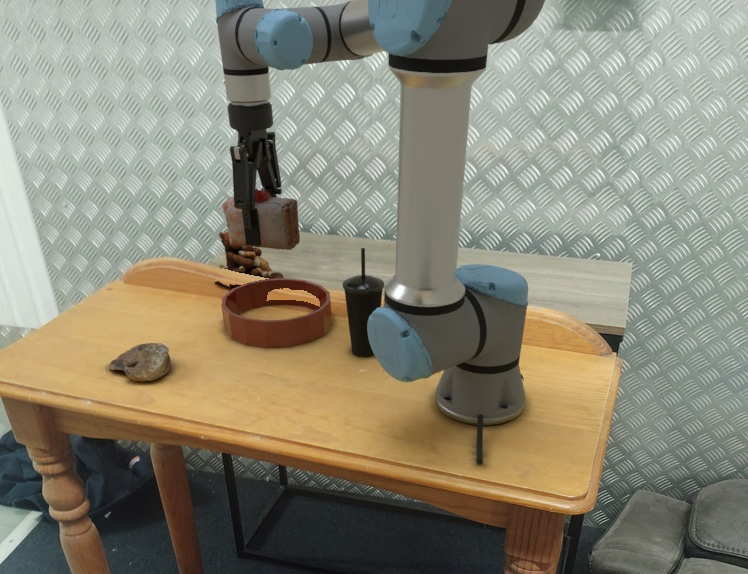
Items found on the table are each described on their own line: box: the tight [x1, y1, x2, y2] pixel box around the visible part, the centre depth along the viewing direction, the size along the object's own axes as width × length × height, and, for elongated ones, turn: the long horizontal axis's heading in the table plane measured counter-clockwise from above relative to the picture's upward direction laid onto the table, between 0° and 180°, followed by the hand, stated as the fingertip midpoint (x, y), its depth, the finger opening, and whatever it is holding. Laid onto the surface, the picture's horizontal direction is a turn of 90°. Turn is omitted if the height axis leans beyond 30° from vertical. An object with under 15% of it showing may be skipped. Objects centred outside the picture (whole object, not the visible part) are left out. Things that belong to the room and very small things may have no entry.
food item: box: [221, 187, 301, 251], centre depth 133 cm, size 14×8×10 cm, turn 75°
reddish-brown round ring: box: [220, 277, 333, 349], centre depth 147 cm, size 22×22×6 cm
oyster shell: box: [108, 342, 172, 382], centre depth 132 cm, size 10×12×5 cm
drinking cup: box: [342, 247, 385, 358], centre depth 133 cm, size 8×8×20 cm
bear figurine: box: [217, 230, 285, 279], centre depth 164 cm, size 14×15×12 cm
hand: (263, 237), depth 135 cm, fingers closed on food item, 8 cm apart
